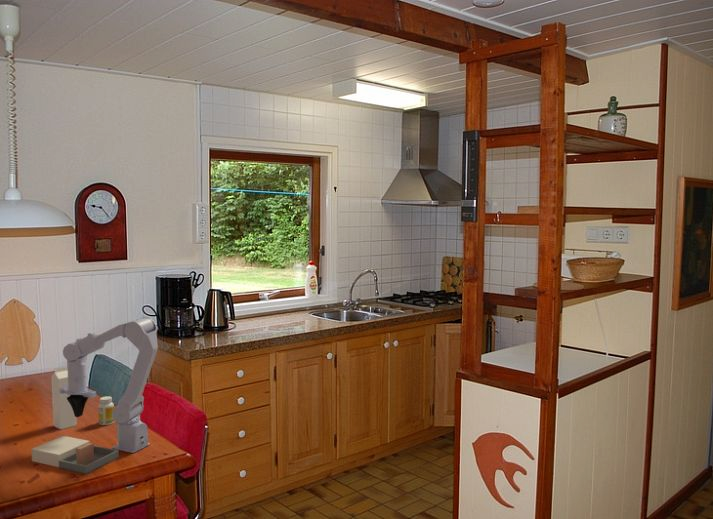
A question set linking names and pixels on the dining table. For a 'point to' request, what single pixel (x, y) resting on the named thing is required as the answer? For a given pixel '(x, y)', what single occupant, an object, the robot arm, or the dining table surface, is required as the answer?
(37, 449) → the cream square platform
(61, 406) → the milk
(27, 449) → the dining table surface
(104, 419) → the supplement bottle
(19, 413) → the dining table surface
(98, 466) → the tray
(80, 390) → the robot arm
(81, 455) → the block
